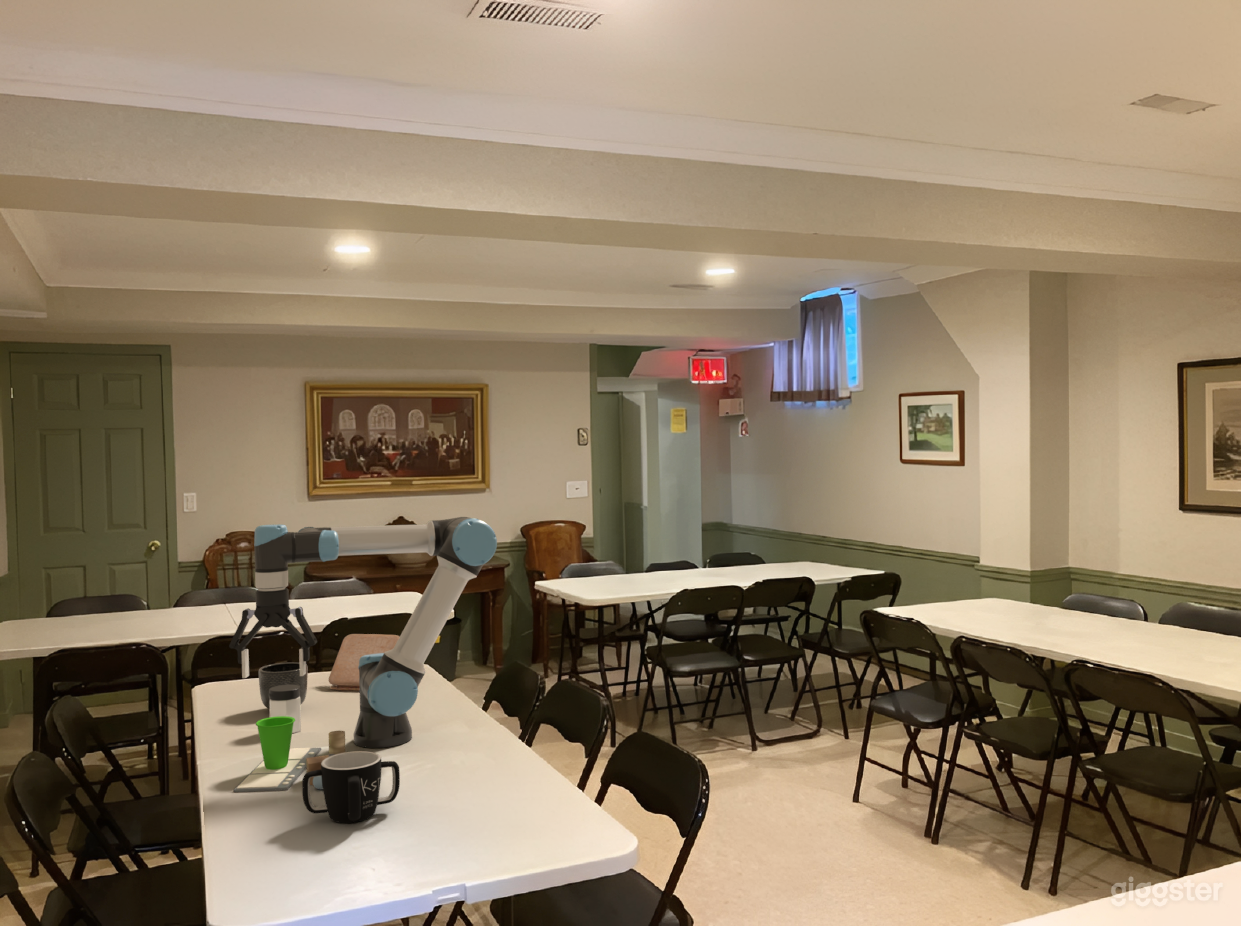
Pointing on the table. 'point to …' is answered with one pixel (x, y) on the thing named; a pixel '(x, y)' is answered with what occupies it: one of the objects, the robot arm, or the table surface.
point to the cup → (275, 740)
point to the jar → (286, 703)
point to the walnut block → (314, 764)
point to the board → (278, 773)
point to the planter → (281, 679)
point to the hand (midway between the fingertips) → (274, 675)
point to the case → (357, 658)
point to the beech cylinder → (336, 742)
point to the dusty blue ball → (317, 782)
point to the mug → (351, 786)
